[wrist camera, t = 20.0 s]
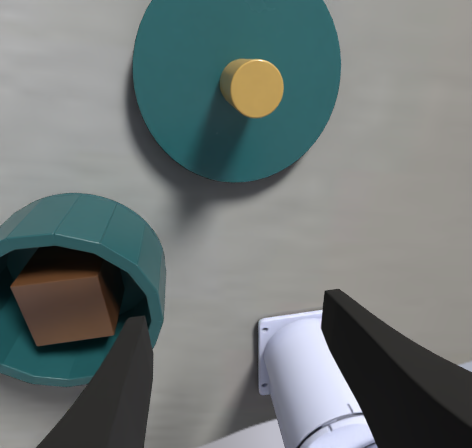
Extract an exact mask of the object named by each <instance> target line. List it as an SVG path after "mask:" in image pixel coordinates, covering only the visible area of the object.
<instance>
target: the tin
mask: <svg viewBox="0 0 472 448" xmlns="http://www.w3.org/2000/svg"><path fill="white" fill-rule="evenodd" d="M47 246H59V247H64V248H69V249H74V250H79V251H84V252H89V253H94V254H96V255H98V256H99V257H101V258H103V259H105V260H106V261H108V262H110V263H112V264H113V265H115V266H117V267H119V268H120V272H121V276H122V280H123V285H124V289H125V290H124V295H123V299H122V304H121V308H120V312H119V317H118V321H117V326H116V330H115V334H114V336H107V337H100V338H93V339H86V340H79V341H72V342H65V343H58V344H51V345H44V346H36V344H35V341H34V339H33V337H32V335H31V332H30V330H29V328H28V326H27V324H26V321H25V319H24V317H23V315H22V312H21V310H20V308H19V306H18V303H17V301H16V299H15V297H14V295H13V292H12V290H11V288H10V286H11V285H12V283H13V282H14V281H15V279H16V278H17V276H18V275H19V274H20V272H21V271H22V270H23V268H24V267H25V265H26V264H27V263H28V261H29V260H30V259H31V257H32V256H33V255H34V253H35V252H36V250H37V249H38V248H39V247H47ZM165 283H166V267H165V257H164V252H163V248H162V246H161V243H160V241H159V239H158V237H157V235H156V234H155V232H154V231H153V229H152V228H151V227H150V226H149V224H148V223H147V222H146V221H145V220H144V219H142V218H141V217H140V216H139V215H138V214H136V213H135V212H134V211H132V210H131V209H129V208H127V207H126V206H124V205H122V204H120V203H118V202H115V201H113V200H110V199H107V198H104V197H101V196H96V195H91V194H81V193H65V194H58V195H52V196H49V197H45V198H42V199H39V200H37V201H35V202H32V203H30V204H29V205H27V206H25V207H24V208H22V209H21V210H19V211H17V212H15V213H14V214H13V215H12V216H11V217H10V218H9V219H8V220H6V221H5V222H4V223H3V224H2V225H1V226H0V373H2V374H5V375H7V376H10V377H13V378H16V379H19V380H22V381H24V382H27V383H31V384H38V385H49V386H60V387H73V386H79V385H85V384H88V383H89V382H90V380H91V379H92V377H93V376H94V375H95V373H96V372H97V370H98V369H99V367H100V366H101V364H102V362H103V361H104V359H105V357H106V356H107V354H108V352H109V351H110V349H111V348H112V346H113V344H114V342H115V341H116V339H117V337H118V335H119V333H120V331H121V330H122V328H123V326H124V324H125V322H126V320H127V319H128V318H130V317H137V316H145V318H146V322H147V327H148V331H149V336H150V340H151V345H152V349H153V348H154V346H155V344H156V341H157V338H158V335H159V333H160V330H161V327H162V324H163V320H164V302H165Z"/></svg>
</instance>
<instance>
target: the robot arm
mask: <svg viewBox="0 0 472 448" xmlns="http://www.w3.org/2000/svg"><path fill="white" fill-rule="evenodd" d="M263 328H265V329H263ZM258 380H259V393H260V395H269V394H270V395H271V399H272V402H273V406H274V409H275V413H276V417H277V420H278V424H279V427H280V431H281V435H282V438H283V442H284V446H285V448H472V372H470V371H468V370H466V369H464V368H462V367H460V366H458V365H456V364H454V363H452V362H450V361H448V360H446V359H444V358H442V357H440V356H438V355H436V354H434V353H432V352H431V351H429V350H427V349H425V348H424V347H422V346H420V345H418V344H417V343H415V342H413V341H412V340H410V339H408V338H407V337H405V336H404V335H402V334H401V333H399V332H398V331H396V330H395V329H393V328H392V327H390V326H389V325H387V324H386V323H384V322H383V321H382V320H380V319H379V318H377V317H376V316H375V315H373V314H372V313H370V312H369V311H368V310H366V309H365V308H364V307H362V306H361V305H360V304H358V303H357V302H356V301H355V300H353V299H352V298H351V297H349V296H348V295H347V294H345V293H344V292H343V291H341V290H340V289H334V290H327V291H325V294H324V302H323V310H317V311H310V312H303V313H296V314H290V315H283V316H276V317H269V318H263V319H261V320H260V321H259V322H258ZM152 381H153V350H152V345H151V340H150V336H149V331H148V327H147V322H146V318H145V316H137V317H130V318H128V319H127V320H126V322H125V324H124V326H123V328H122V330H121V331H120V333H119V335H118V337H117V339H116V341H115V342H114V344H113V346H112V348H111V349H110V351H109V352H108V354H107V356H106V357H105V359H104V361H103V362H102V364H101V366H100V367H99V369H98V370H97V372H96V373H95V375H94V376H93V377H92V379H91V380H90V382H89V383H88V385H87V386H86V388H85V389H84V390H83V392H82V393H81V395H80V396H79V397H78V399H77V400H76V401H75V402H74V404H73V405H72V406H71V408H70V409H69V410H68V411H67V413H66V414H65V415H64V416H63V417H62V419H61V420H60V421H59V422H58V423H57V424H56V426H55V427H54V428H53V429H52V430H51V431H50V433H49V434H48V435H47V436H46V437H45V438H44V439H43V441H42V442H41V443H40V444H39V445H38V446H37V447H36V448H144V440H145V433H146V426H147V418H148V411H149V404H150V397H151V389H152Z"/></svg>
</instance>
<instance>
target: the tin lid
mask: <svg viewBox="0 0 472 448" xmlns="http://www.w3.org/2000/svg"><path fill="white" fill-rule="evenodd" d="M340 73H341V57H340V47H339V41H338V36H337V32H336V29H335V26H334V23H333V19H332V17H331V15H330V13H329V11H328V9H327V6H326V5H325V3H324V1H323V0H152V1H151V3H150V4H149V6H148V7H147V9H146V11H145V14H144V16H143V18H142V21H141V23H140V25H139V29H138V33H137V36H136V40H135V45H134V52H133V72H132V74H133V83H134V91H135V95H136V99H137V104H138V107H139V109H140V112H141V115H142V118H143V120H144V122H145V124H146V126H147V128H148V129H149V131H150V133H151V134H152V136H153V137H154V139H155V140H156V142H157V143H158V144H159V145H160V146H161V148H162V149H163V150H164V151H165V152H166V153H167V154H168V155H169V156H170V157H171V158H172V159H173V160H175V161H176V162H177V163H179V164H180V165H181V166H183V167H184V168H186V169H188V170H189V171H191V172H193V173H195V174H197V175H200V176H203V177H205V178H208V179H212V180H216V181H221V182H231V183H236V182H249V181H256V180H259V179H263V178H266V177H269V176H271V175H274V174H276V173H278V172H280V171H282V170H283V169H285V168H287V167H289V166H290V165H291V164H293V163H294V162H295V161H297V160H298V159H299V158H300V157H301V156H303V155H304V154H305V153H306V152H307V151H308V150H309V148H310V147H311V146H312V145H313V144H314V143H315V142H316V140H317V139H318V137H319V136H320V134H321V133H322V131H323V130H324V128H325V126H326V124H327V122H328V120H329V118H330V116H331V113H332V111H333V108H334V105H335V102H336V98H337V94H338V89H339V83H340Z"/></svg>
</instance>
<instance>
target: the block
mask: <svg viewBox="0 0 472 448" xmlns="http://www.w3.org/2000/svg"><path fill="white" fill-rule="evenodd" d="M10 288H11V290H12V292H13V295H14V297H15V299H16V301H17V303H18V306H19V308H20V310H21V312H22V315H23V317H24V319H25V321H26V324H27V326H28V328H29V330H30V332H31V335H32V337H33V339H34V341H35V344H36V346H44V345H51V344H58V343H65V342H72V341H79V340H86V339H93V338H100V337H107V336H114V334H115V330H116V326H117V321H118V317H119V312H120V308H121V304H122V299H123V295H124V290H125V289H124V285H123V280H122V276H121V272H120V268H119V267H117V266H115V265H113V264H112V263H110V262H108V261H106V260H105V259H103V258H101V257H99V256H98V255H96V254H94V253H89V252H84V251H79V250H74V249H69V248H64V247H59V246H47V247H39V248H38V249H37V250H36V252H35V253H34V255H33V256H32V257H31V259H30V260H29V261H28V263H27V264H26V265H25V267H24V268H23V270H22V271H21V272H20V274H19V275H18V276H17V278H16V279H15V281H14V282H13V283H12V285H11V286H10Z"/></svg>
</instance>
